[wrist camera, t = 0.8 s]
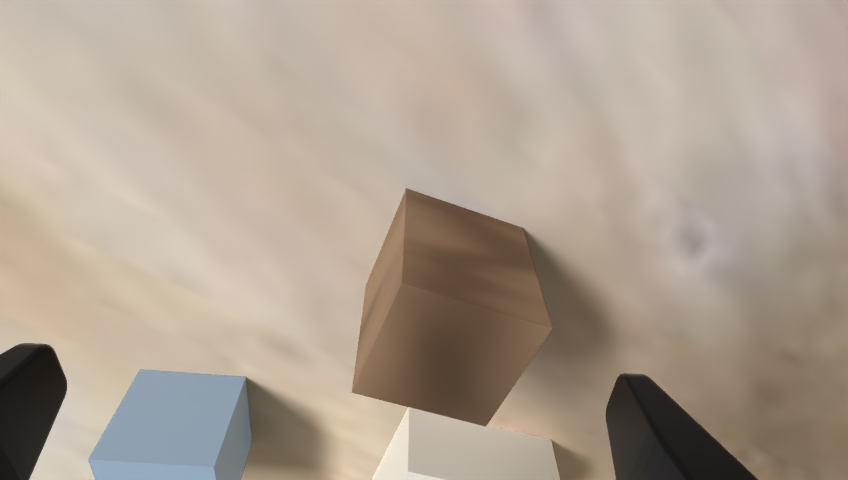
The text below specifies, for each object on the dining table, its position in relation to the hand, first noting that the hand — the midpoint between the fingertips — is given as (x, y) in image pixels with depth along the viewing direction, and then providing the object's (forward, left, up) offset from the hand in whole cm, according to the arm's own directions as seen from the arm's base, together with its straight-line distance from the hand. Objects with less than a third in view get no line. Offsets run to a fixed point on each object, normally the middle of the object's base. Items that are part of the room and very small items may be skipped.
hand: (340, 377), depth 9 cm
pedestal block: (-10, +18, -13) cm, 25 cm away
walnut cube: (-4, +5, -13) cm, 14 cm away
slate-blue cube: (+4, +18, -13) cm, 23 cm away
